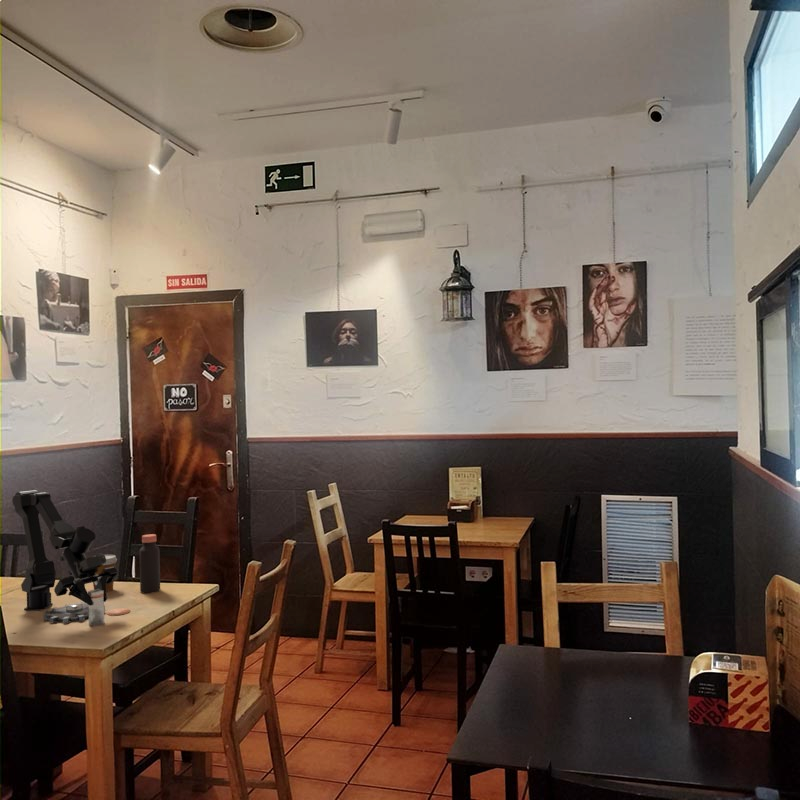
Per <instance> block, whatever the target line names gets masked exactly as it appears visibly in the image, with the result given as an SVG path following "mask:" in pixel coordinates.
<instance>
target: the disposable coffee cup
mask: <svg viewBox="0 0 800 800" xmlns="http://www.w3.org/2000/svg"><path fill="white" fill-rule="evenodd" d="M104 555H105V557H106V562H105V563H104V564H103V565H102V566H100V567H98V568H97V569H98V571H97V572H95V575H97V574H101V572H102V570H103V569H105V568H109V567H116V563H117V561H118V558H117V556H116V555H115V554H104ZM95 556H96V555H94V556H93V557H95ZM114 582H115V579H114V580H113V582H112V583H110V584H106V593H107V592H111V591H113V590H114ZM92 586H93V590H95V589H94V588H95V586H96V585H95V583H94V582H92Z"/></svg>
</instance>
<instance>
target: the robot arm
mask: <svg viewBox="0 0 800 800" xmlns="http://www.w3.org/2000/svg"><path fill="white" fill-rule="evenodd" d="M12 505H13V506H14V510H15V513H16V514H17V515H18V516H19V517H20V518H21V519H22V524H23V529H24V535H25V541H26V545H27V551H28V557H29V561H28V565H27V568H26V569H25V572H26V573H25V574H26V576H25V578H24V579H23V581H22V583H21V591H22V592H25V593H26V607H24V609H23V610H24V611H44V610H45V609H47V608H49V607H51V606H52V605H53V603H52V592H51V591H50V588H54V589H53V590H54V593H55V596H57V597H60V596H65V595H67V593H68V596H73V597H74V598H76V599H78V600H80V601H82V603H84V602H85V603H86V604H88V605H90V606H91V605H92V604H93V603H92V600H91V598H90V596H89V594H88V591H87V589H86V585H87V584H91V583H92V584H93V582H94V583H95V585H96V586H95V588H94V587H93V590H94V589H102V590H104V603H105V602H107V599H108V598H107V592H106V584H110V583H112V582H113V580H114V581H115V579H116V578H117V575H118V574H119V570H118V569H117V567H116V566H115V567H109V568H105V569H103V570H102V572H101V574H97V575H95V572H97V571H98V569H97V568H98V567H100V566H102V565H103V564H104V563H105V562H106V557H105V555H106V554H104V552H102V553H98V554H96V555H94V556H95V557H94V556H91V557H87V556H86V554H85V553H87V552H88V551H89V550H90V547H91V546H92V544H93V543H94V541H95V539H96V533H95V532H94V531H93V530H91V529H89V528H86V527H85V525H80V526H79V525H78V526H77V527H76V529H75V527H74V526H73V525H72V524H70V523H68V522H66V521H65V520H64V518H63V516H62V515H61V513H60V512H59V510H58V509H57V507H56V506H55V504H54V502H53V501H52V497H51V494H50V492H40V491H38V490H37V489H33V490H25V491H17V492H16V493H15V495H13V496H12ZM39 514H40V515H39ZM40 516H41V518H42V520H43V521H44V523H45V525H46V527H47V528H48V530H49V536H48V539H49V541H50V544H51V546H52V547H53V548H54V549H55V550H63V549H64V550H63V551H62V552H61V556H60V559H59V560H60V562H63V561H64V562H65V563H66V566H67V568H68V569H69V570H68V572H67V573H68V575H69V576H65V577H60V579H59V580H58V582H57V583H56V579H57V571H56V568H55V562H54V560H50V559H49V558H48V557H47V556H46V550H45V544H44V538H43V532H42V528H41V521H40ZM55 583H56V585H55ZM68 591H69V592H68Z"/></svg>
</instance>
